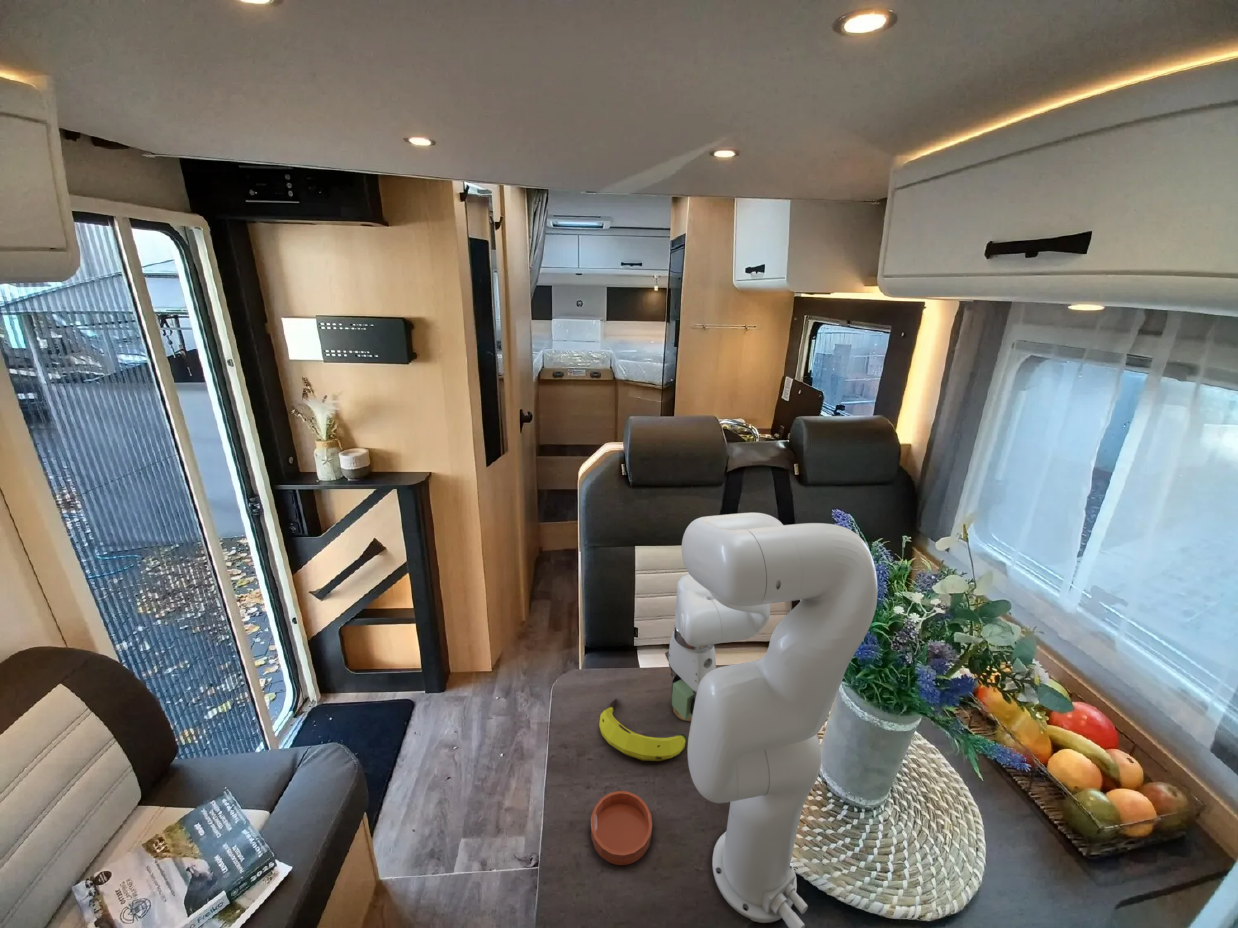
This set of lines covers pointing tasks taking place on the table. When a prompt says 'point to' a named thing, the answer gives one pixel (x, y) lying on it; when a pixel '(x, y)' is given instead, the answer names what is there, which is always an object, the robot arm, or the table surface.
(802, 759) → the robot arm
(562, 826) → the table surface
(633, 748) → the banana
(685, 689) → the block
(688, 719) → the mat
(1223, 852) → the table surface
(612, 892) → the table surface
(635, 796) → the bowl
